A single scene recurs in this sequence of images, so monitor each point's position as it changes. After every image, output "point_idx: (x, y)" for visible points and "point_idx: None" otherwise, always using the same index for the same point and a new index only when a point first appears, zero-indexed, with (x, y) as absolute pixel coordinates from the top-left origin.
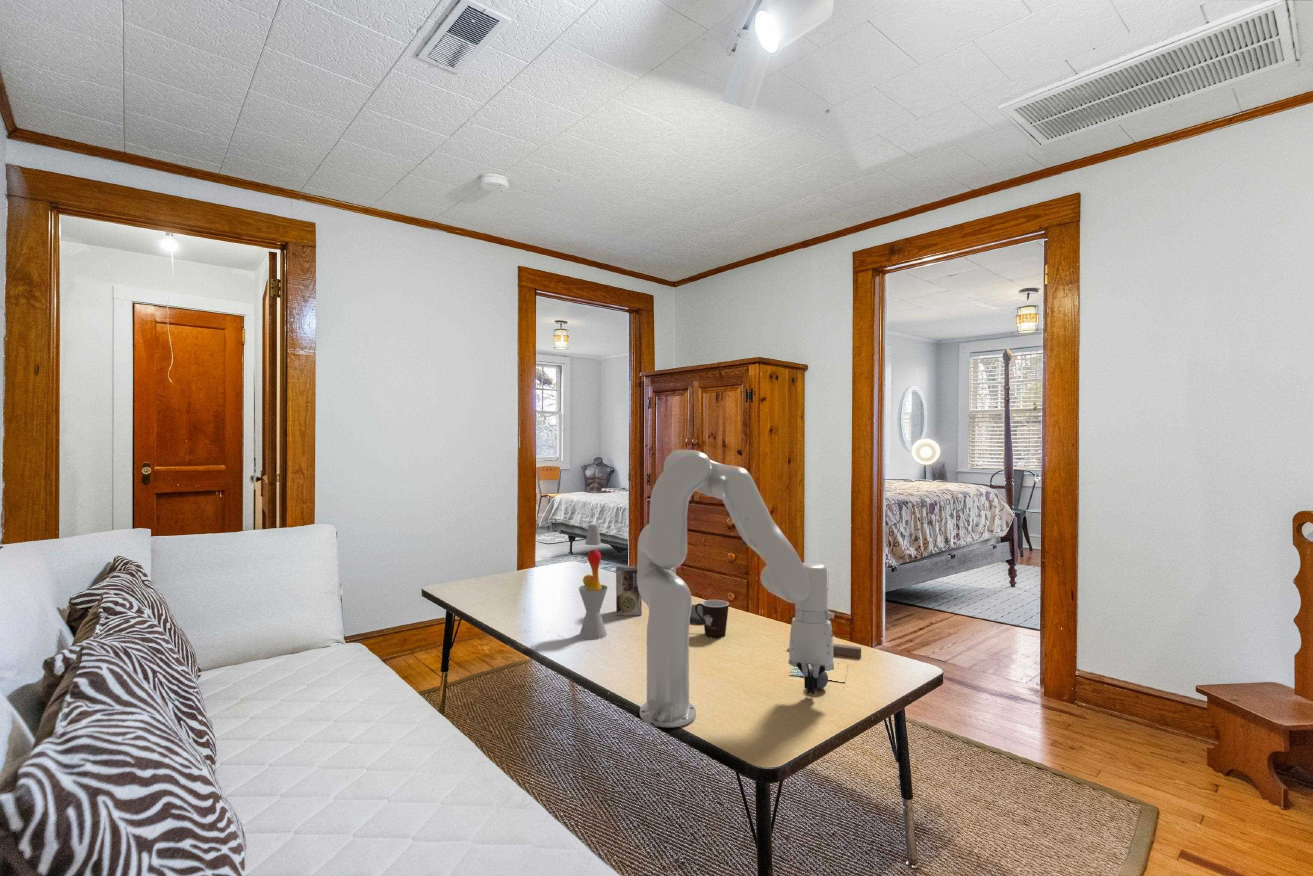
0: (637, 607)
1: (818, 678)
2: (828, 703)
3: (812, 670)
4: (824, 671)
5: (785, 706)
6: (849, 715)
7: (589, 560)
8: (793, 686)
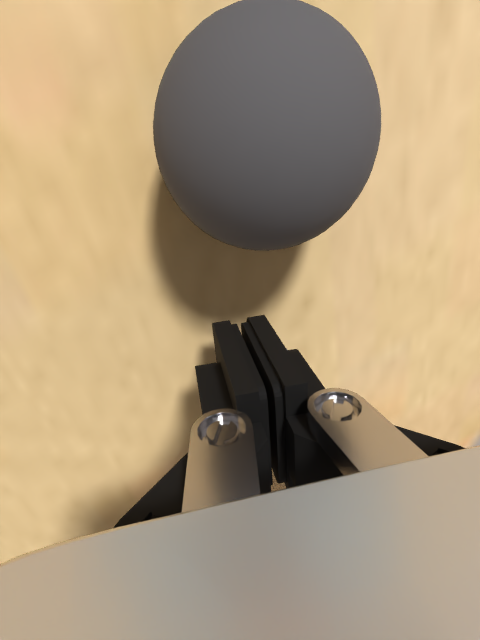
0: None
1: (296, 244)
2: (341, 358)
3: (232, 188)
4: (373, 130)
5: (129, 503)
6: (439, 427)
7: None
8: (41, 197)
